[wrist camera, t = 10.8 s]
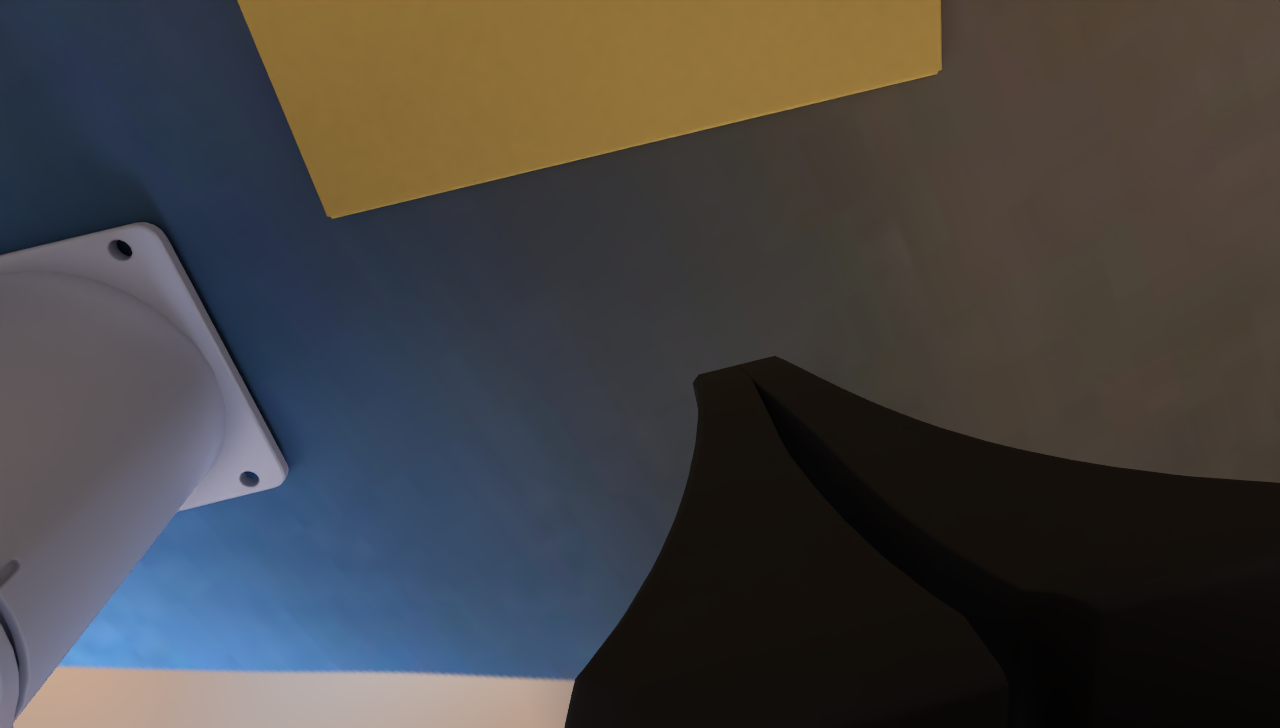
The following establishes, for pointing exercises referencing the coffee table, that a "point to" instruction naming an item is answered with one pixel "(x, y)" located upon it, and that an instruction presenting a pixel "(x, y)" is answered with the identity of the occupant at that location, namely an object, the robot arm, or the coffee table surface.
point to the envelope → (554, 78)
